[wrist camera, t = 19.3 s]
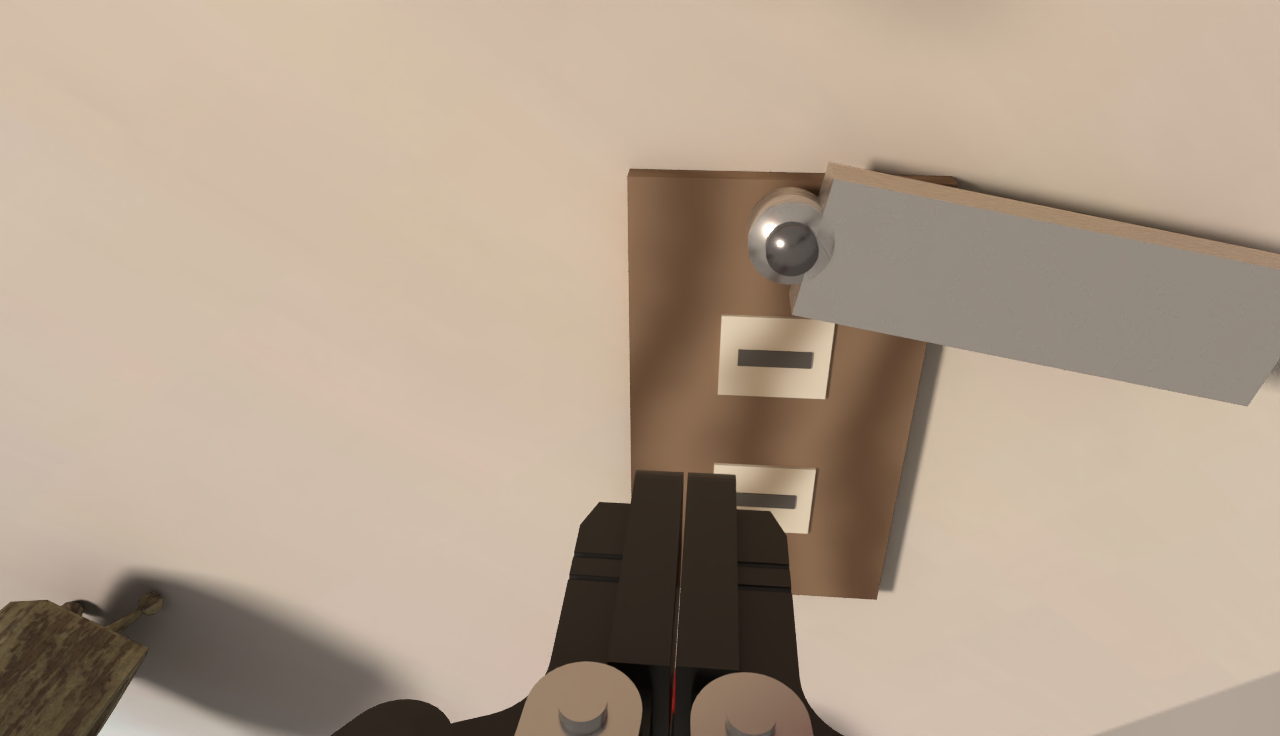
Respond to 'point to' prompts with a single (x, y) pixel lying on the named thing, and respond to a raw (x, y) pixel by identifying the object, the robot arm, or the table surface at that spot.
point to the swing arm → (1023, 282)
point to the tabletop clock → (64, 667)
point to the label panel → (762, 379)
